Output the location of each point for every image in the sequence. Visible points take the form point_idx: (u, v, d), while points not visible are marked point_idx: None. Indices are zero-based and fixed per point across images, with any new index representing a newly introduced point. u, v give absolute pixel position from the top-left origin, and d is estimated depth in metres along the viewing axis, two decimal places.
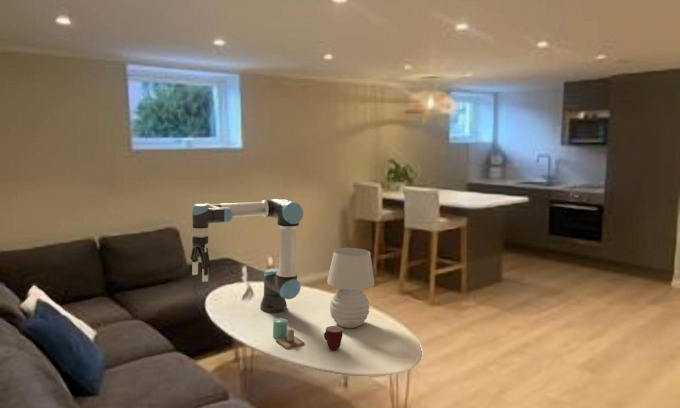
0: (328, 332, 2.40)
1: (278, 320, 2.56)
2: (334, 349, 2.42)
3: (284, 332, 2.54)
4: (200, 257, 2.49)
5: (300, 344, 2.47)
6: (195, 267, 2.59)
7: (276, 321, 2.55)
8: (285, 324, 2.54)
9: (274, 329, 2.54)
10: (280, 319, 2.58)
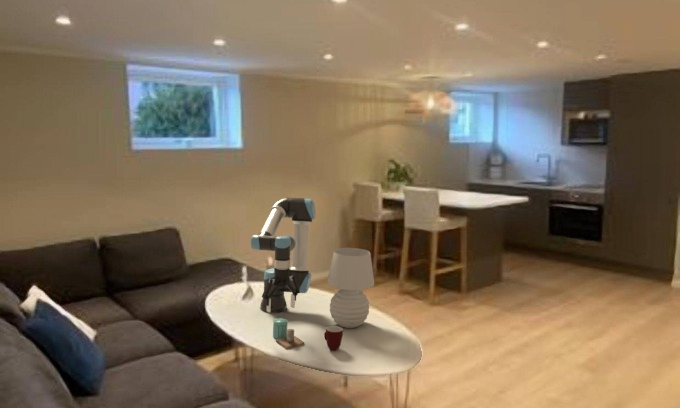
0: (328, 332, 2.40)
1: (278, 320, 2.56)
2: (334, 349, 2.42)
3: (284, 332, 2.54)
4: None
5: (300, 344, 2.47)
6: (292, 300, 2.58)
7: (276, 321, 2.55)
8: (285, 324, 2.54)
9: (274, 329, 2.54)
10: (280, 319, 2.58)
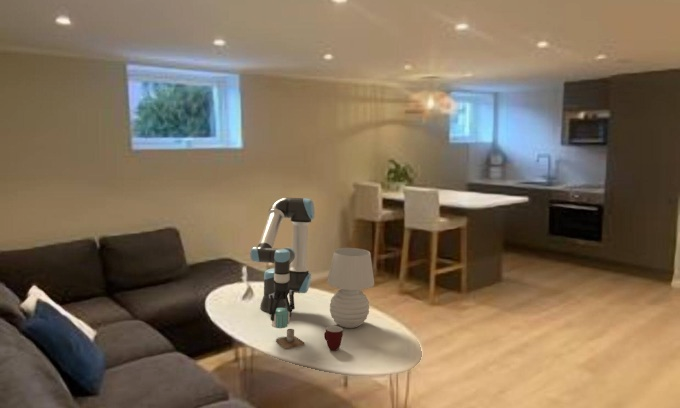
0: (328, 332, 2.40)
1: (279, 310, 2.56)
2: (334, 349, 2.42)
3: (284, 321, 2.54)
4: None
5: (300, 344, 2.47)
6: None
7: (276, 310, 2.55)
8: (285, 313, 2.54)
9: None
10: (280, 308, 2.58)
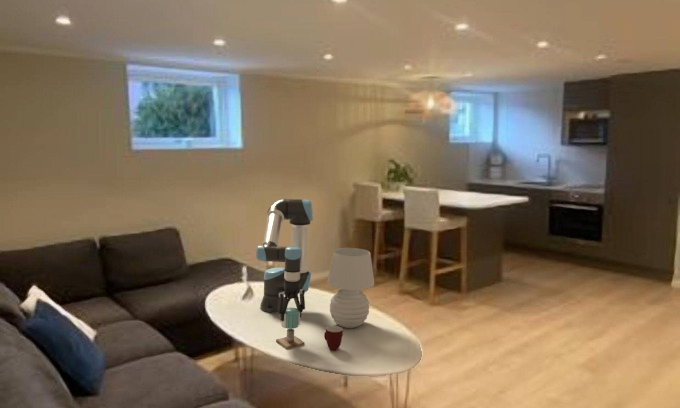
0: (328, 332, 2.40)
1: (289, 310, 2.47)
2: (334, 349, 2.42)
3: (295, 322, 2.45)
4: None
5: (300, 344, 2.47)
6: None
7: (286, 310, 2.46)
8: (296, 313, 2.45)
9: None
10: (291, 308, 2.49)
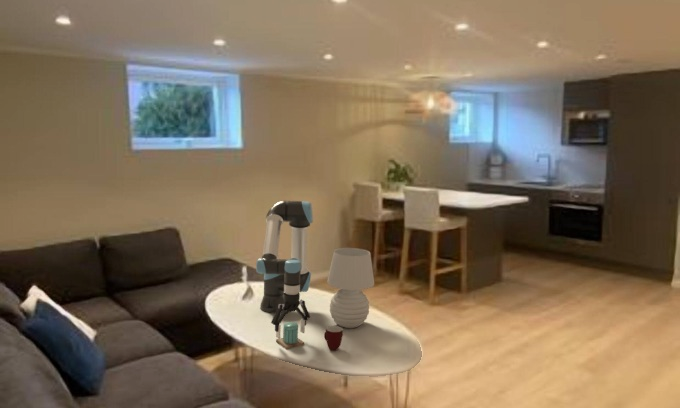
0: (328, 332, 2.40)
1: (289, 325, 2.48)
2: (334, 349, 2.42)
3: (294, 337, 2.46)
4: None
5: (300, 344, 2.47)
6: (302, 325, 2.52)
7: (286, 325, 2.47)
8: (296, 328, 2.46)
9: (284, 333, 2.46)
10: (290, 323, 2.50)
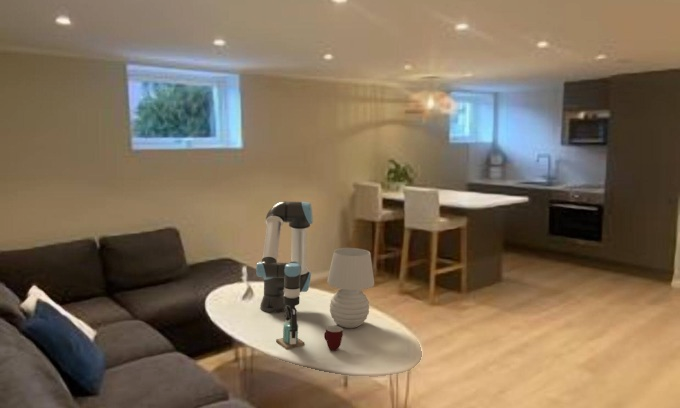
0: (328, 332, 2.40)
1: (289, 325, 2.48)
2: (334, 349, 2.42)
3: None
4: (289, 318, 2.44)
5: (300, 344, 2.47)
6: None
7: (286, 325, 2.47)
8: None
9: (284, 333, 2.46)
10: None
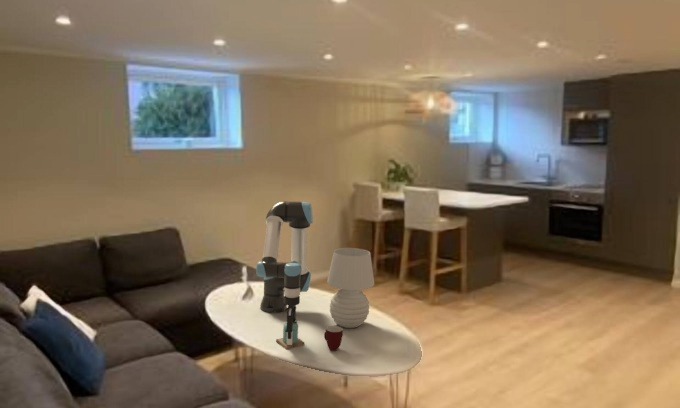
0: (328, 332, 2.40)
1: None
2: (334, 349, 2.42)
3: (294, 337, 2.46)
4: None
5: (300, 344, 2.47)
6: None
7: (286, 325, 2.47)
8: (296, 328, 2.46)
9: (284, 333, 2.46)
10: None
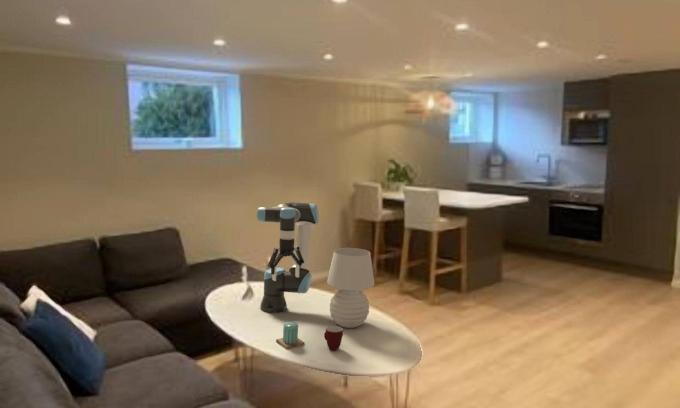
0: (328, 332, 2.40)
1: (289, 325, 2.48)
2: (334, 349, 2.42)
3: (294, 337, 2.46)
4: None
5: (300, 344, 2.47)
6: (296, 270, 2.67)
7: (286, 325, 2.47)
8: (296, 328, 2.46)
9: (284, 333, 2.46)
10: (290, 323, 2.50)
